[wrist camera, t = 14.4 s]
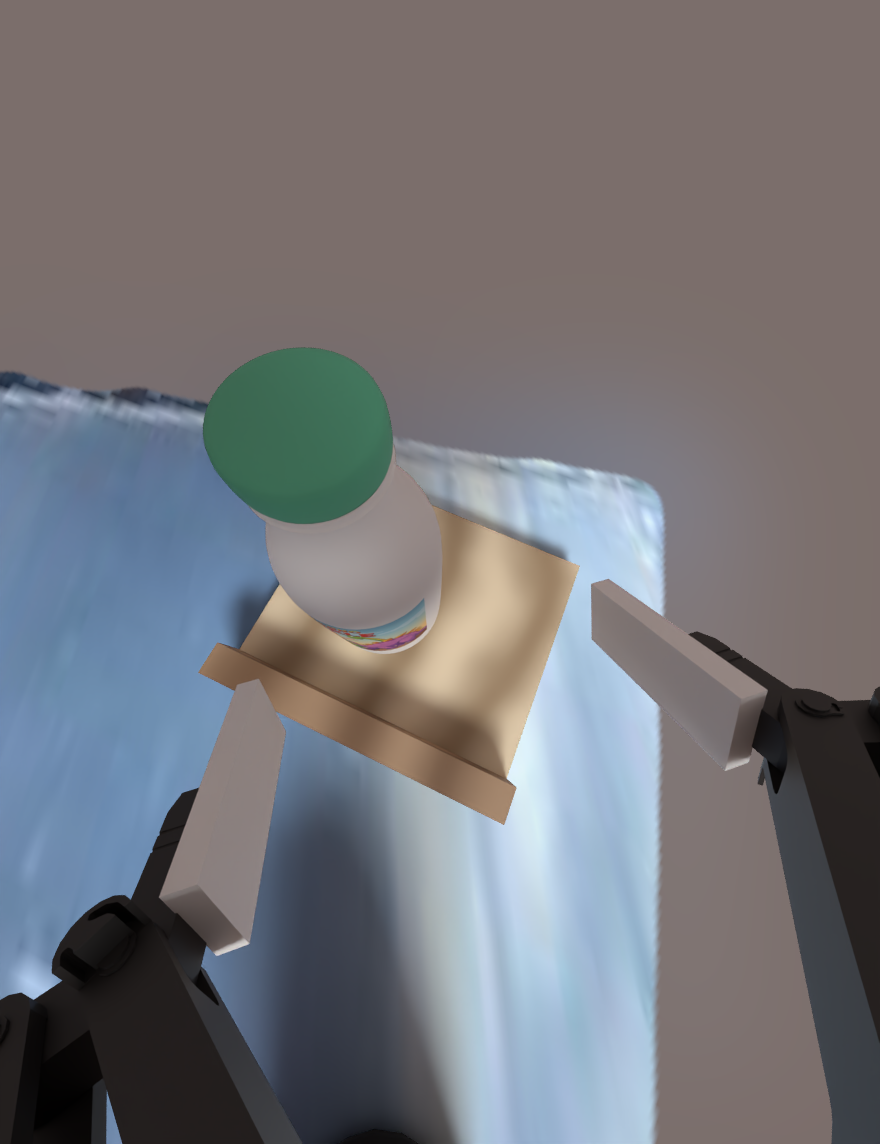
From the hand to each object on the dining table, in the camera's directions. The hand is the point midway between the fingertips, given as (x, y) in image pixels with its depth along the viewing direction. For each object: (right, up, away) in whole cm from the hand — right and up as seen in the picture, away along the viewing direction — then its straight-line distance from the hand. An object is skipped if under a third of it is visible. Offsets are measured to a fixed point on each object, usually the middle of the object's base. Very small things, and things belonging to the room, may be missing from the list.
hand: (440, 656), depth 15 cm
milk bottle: (-4, +1, +13) cm, 14 cm away
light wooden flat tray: (-2, -1, +15) cm, 15 cm away
